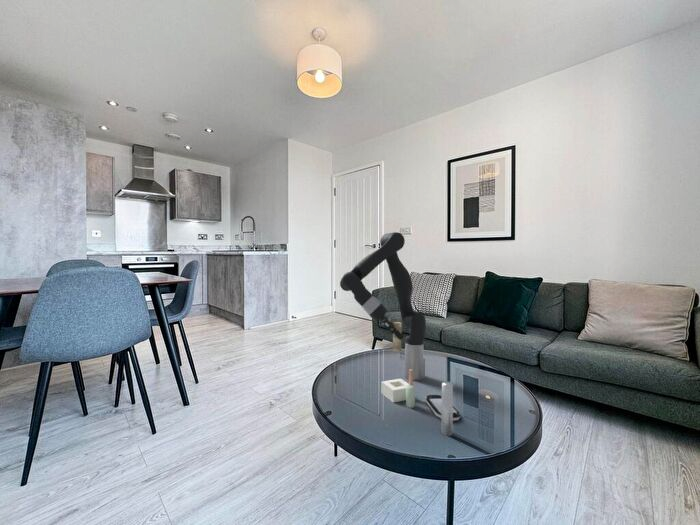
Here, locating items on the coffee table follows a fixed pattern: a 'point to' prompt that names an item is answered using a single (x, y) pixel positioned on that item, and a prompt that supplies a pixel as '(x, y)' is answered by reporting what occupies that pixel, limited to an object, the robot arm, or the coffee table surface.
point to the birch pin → (395, 339)
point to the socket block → (396, 388)
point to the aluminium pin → (447, 408)
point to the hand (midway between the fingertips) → (401, 337)
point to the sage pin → (410, 396)
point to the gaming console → (439, 406)
